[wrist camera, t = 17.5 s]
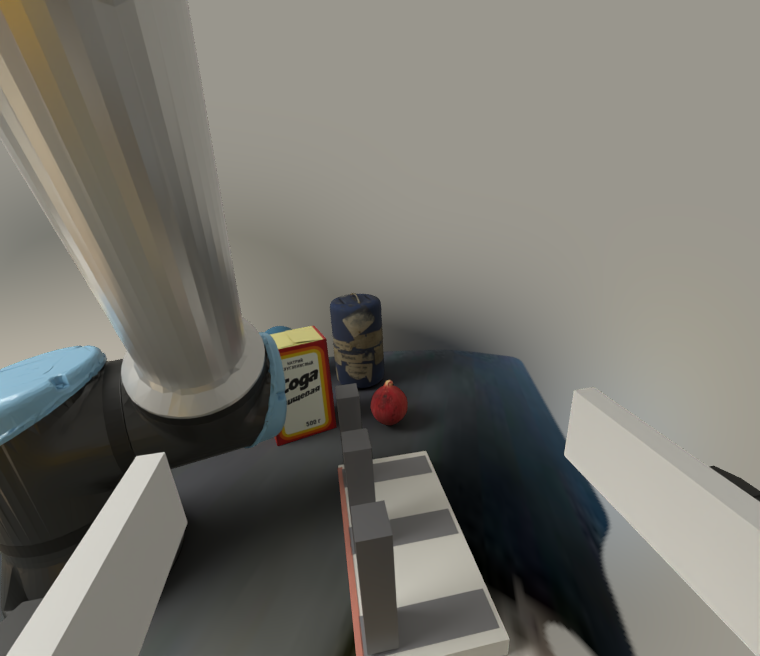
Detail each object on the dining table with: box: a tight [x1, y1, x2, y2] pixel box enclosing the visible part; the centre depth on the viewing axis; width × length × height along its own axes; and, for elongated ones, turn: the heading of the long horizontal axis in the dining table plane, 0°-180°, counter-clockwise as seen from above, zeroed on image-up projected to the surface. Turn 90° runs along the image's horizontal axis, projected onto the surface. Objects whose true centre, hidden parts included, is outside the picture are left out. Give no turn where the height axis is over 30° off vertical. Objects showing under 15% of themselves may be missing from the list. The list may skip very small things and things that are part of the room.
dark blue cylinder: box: [330, 293, 384, 388], centre depth 71 cm, size 10×10×18 cm
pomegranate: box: [371, 380, 407, 425], centre depth 58 cm, size 6×6×8 cm
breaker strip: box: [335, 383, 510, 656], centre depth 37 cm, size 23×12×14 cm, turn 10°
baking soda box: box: [270, 326, 336, 446], centre depth 58 cm, size 10×6×16 cm
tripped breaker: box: [351, 500, 399, 655], centre depth 28 cm, size 3×2×12 cm
